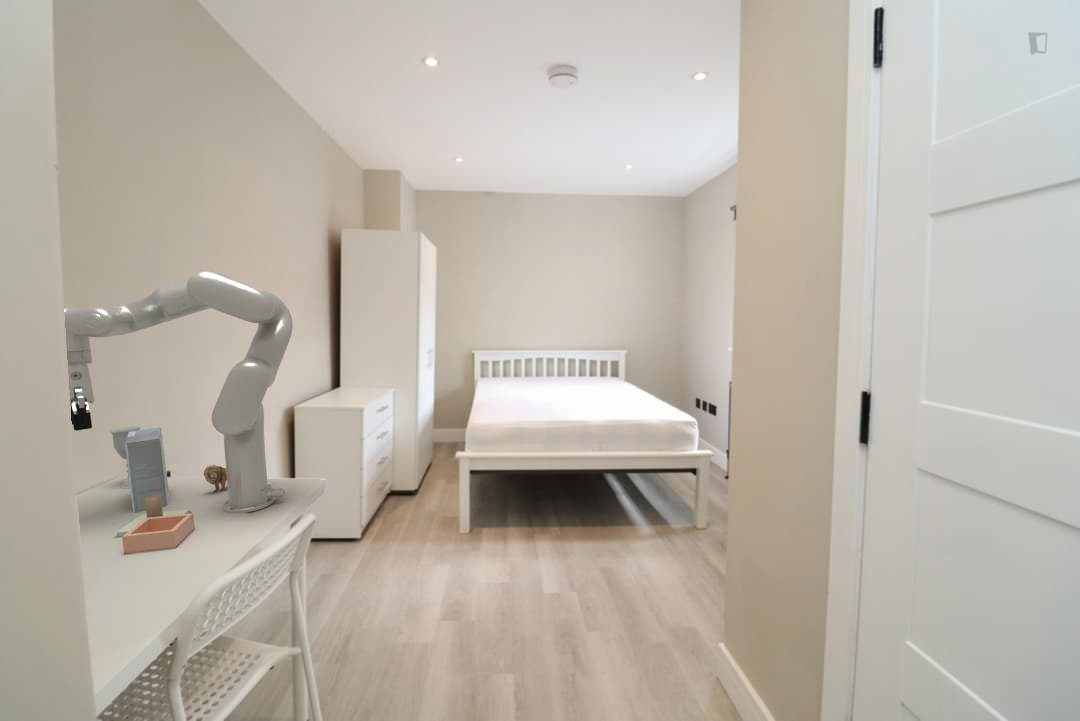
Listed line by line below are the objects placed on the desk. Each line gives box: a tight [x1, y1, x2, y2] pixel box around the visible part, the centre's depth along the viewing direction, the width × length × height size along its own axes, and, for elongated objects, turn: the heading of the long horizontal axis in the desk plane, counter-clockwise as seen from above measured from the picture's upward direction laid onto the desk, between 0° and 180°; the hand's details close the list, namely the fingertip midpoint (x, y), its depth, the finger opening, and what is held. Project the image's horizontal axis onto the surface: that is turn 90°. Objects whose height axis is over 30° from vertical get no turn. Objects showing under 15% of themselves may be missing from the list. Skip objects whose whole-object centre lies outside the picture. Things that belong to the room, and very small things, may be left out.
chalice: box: [109, 426, 141, 490], centre depth 151 cm, size 7×7×18 cm
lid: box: [116, 495, 191, 538], centre depth 123 cm, size 11×11×7 cm
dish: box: [121, 512, 196, 555], centre depth 114 cm, size 10×10×4 cm
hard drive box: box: [125, 427, 169, 513], centre depth 138 cm, size 16×8×20 cm, turn 37°
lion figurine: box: [203, 464, 227, 493], centre depth 148 cm, size 15×5×9 cm, turn 159°
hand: (80, 426), depth 122 cm, fingers open, 9 cm apart
